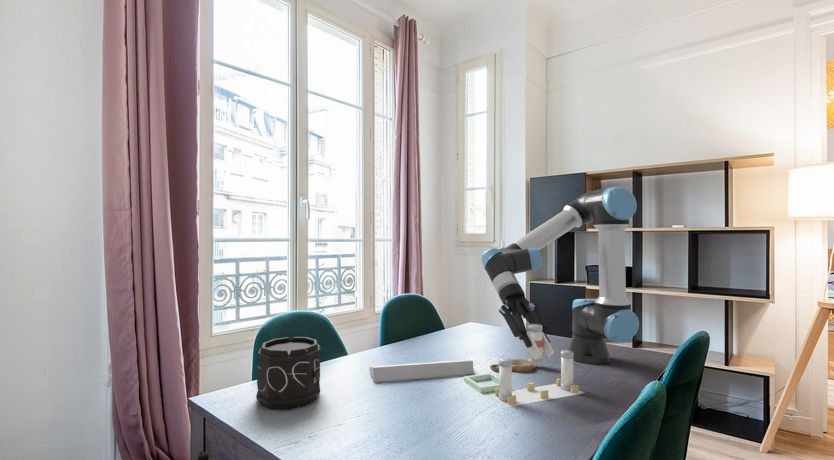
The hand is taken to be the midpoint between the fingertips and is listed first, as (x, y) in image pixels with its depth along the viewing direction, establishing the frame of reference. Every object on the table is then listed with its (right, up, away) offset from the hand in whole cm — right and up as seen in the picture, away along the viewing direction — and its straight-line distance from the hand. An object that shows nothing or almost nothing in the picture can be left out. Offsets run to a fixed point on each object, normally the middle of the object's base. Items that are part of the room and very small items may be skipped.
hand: (544, 355), depth 113 cm
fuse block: (-1, -14, +3) cm, 14 cm away
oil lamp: (-1, -14, +26) cm, 30 cm away
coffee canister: (-72, -13, +2) cm, 73 cm away
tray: (-15, -14, +10) cm, 22 cm away
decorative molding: (-34, -14, +25) cm, 45 cm away
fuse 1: (-11, -12, -1) cm, 16 cm away
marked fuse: (-1, -3, +3) cm, 5 cm away
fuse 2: (+9, -12, +8) cm, 17 cm away
